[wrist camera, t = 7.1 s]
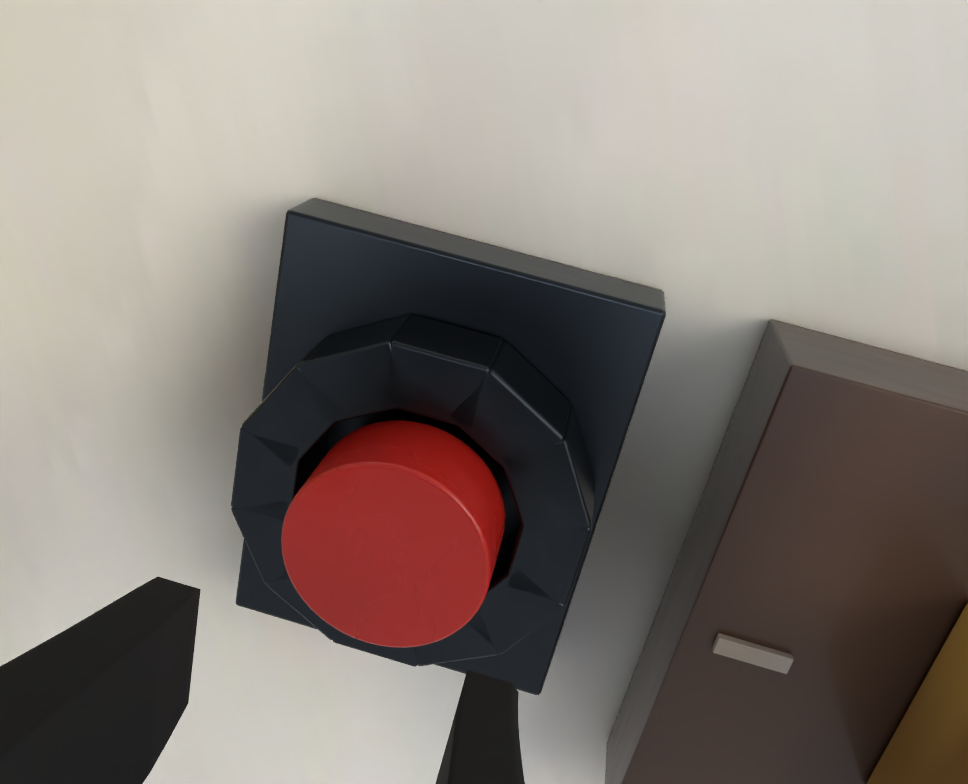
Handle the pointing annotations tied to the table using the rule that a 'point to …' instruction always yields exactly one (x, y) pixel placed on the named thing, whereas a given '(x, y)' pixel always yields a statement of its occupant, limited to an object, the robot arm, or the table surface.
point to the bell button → (395, 534)
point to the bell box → (447, 407)
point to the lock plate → (807, 574)
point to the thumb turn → (934, 723)
